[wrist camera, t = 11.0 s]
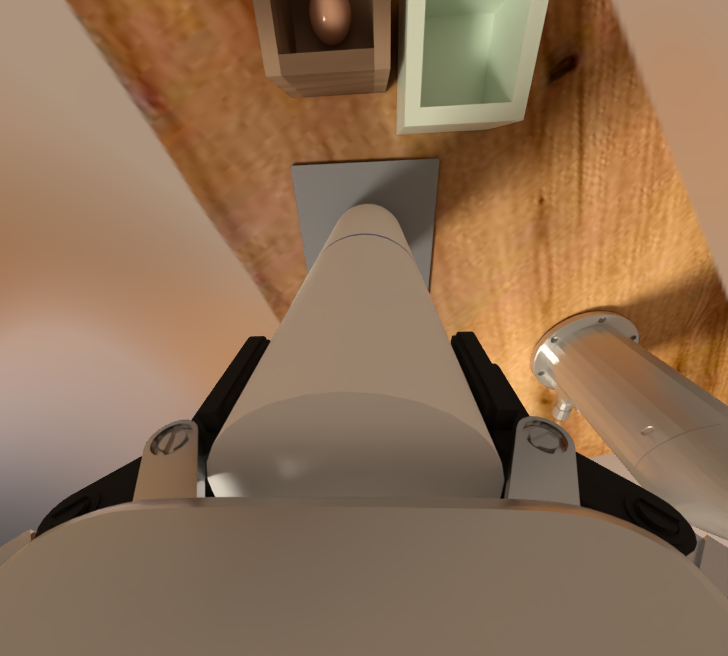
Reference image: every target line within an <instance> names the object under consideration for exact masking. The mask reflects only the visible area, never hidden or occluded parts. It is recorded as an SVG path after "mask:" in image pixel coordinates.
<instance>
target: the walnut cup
mask: <svg viewBox="0 0 728 656" xmlns="http://www.w3.org/2000/svg"><path fill="white" fill-rule="evenodd" d="M309 2H310V0H253V5H254V10H255V16H256V22H257V28H258V34H259V39H260V45H261V51H262V57H263V62H264V68H265V74H266V77H267V78H268V79H269V80H271V81H272V82H273V83H274V84H276V85H277V86H278V87H279V88H281V89H282V90H283V91H285V92H286V93H287V94H288V95H290V96H291V97H292V98H300V97H316V96H333V95H349V94H366V93H383V92H386V87H387V83H388V78H389V73H390V49H391V0H349V3H350V7H351V26H350V29H349V32H348V34H347V36H346V38H345V39H344V40H343V41H342V42H341V43H340V44H338V45H334V46H330V45H326V44H324V43H323V42H321V41H320V40H319V39H318V38H317V36H316V35H315V33H314V31H313V29H312V27H311V23H310V19H309Z"/></svg>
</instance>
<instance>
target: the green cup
mask: <svg viewBox="0 0 728 656" xmlns="http://www.w3.org/2000/svg"><path fill="white" fill-rule="evenodd" d="M548 1H549V0H399V17H398V78H397V135H401V134H420V133H439V132H457V131H476V130H488V129H492V128H496V127H499V126H503V125H507V124H511V123H515V122H519V121H522V120H524V115H525V110H526V106H527V101H528V96H529V91H530V87H531V82H532V77H533V72H534V68H535V63H536V58H537V53H538V49H539V44H540V39H541V35H542V30H543V25H544V20H545V16H546V11H547V6H548Z"/></svg>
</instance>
